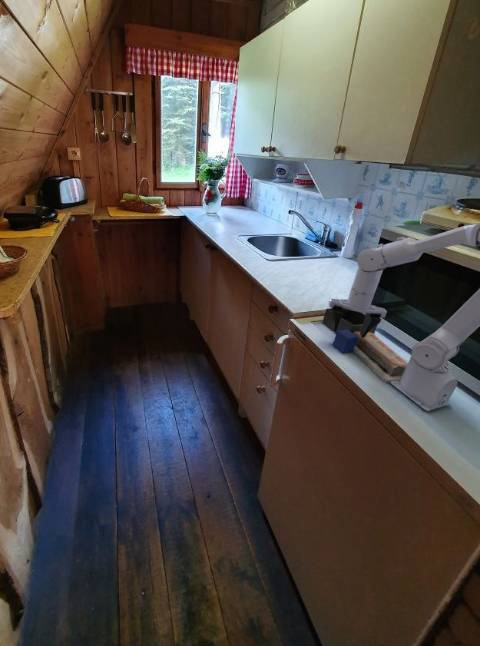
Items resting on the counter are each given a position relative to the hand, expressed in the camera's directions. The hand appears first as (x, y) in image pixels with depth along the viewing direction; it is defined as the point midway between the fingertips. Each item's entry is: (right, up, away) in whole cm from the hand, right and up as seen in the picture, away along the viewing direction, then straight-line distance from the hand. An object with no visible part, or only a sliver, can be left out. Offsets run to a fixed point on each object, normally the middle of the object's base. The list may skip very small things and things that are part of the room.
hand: (347, 332), depth 89 cm
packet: (-1, -5, +2) cm, 5 cm away
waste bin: (+6, -2, +12) cm, 14 cm away
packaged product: (+8, -8, -1) cm, 11 cm away
